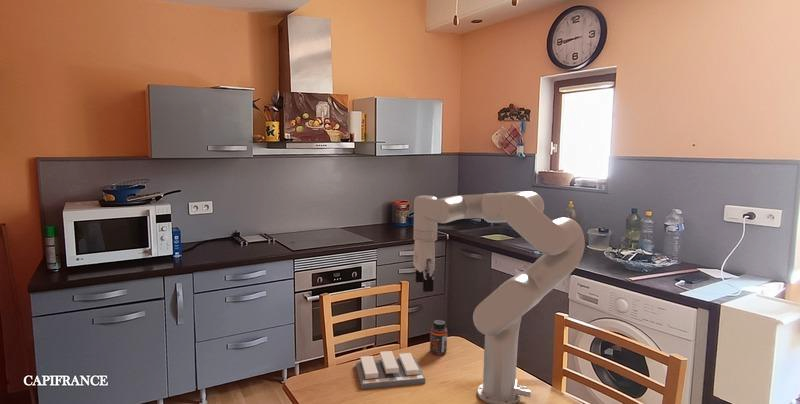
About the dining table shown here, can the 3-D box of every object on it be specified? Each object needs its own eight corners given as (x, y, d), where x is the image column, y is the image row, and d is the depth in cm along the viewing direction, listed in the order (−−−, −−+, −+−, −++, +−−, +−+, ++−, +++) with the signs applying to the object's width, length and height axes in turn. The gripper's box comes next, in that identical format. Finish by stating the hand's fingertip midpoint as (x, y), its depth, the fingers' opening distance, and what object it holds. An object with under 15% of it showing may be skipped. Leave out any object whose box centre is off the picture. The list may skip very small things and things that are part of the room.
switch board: (414, 361, 169) (414, 356, 168) (425, 383, 154) (425, 377, 154) (355, 365, 164) (355, 361, 164) (361, 388, 150) (361, 383, 150)
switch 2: (410, 357, 167) (410, 352, 167) (418, 374, 156) (418, 369, 156) (398, 358, 167) (398, 353, 166) (406, 375, 155) (406, 370, 155)
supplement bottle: (426, 353, 175) (427, 322, 173) (435, 347, 180) (436, 317, 178) (441, 357, 171) (442, 326, 170) (449, 351, 176) (450, 321, 175)
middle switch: (391, 355, 166) (391, 350, 166) (398, 372, 154) (398, 367, 154) (379, 356, 165) (380, 351, 165) (386, 373, 154) (386, 368, 153)
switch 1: (372, 360, 165) (372, 355, 165) (378, 377, 153) (378, 373, 153) (360, 361, 164) (360, 356, 164) (365, 379, 152) (365, 374, 152)
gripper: (407, 229, 164) (406, 279, 167) (420, 241, 147) (419, 296, 150) (429, 228, 166) (428, 278, 168) (444, 240, 149) (443, 294, 151)
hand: (424, 286), depth 159 cm, fingers open, 9 cm apart
